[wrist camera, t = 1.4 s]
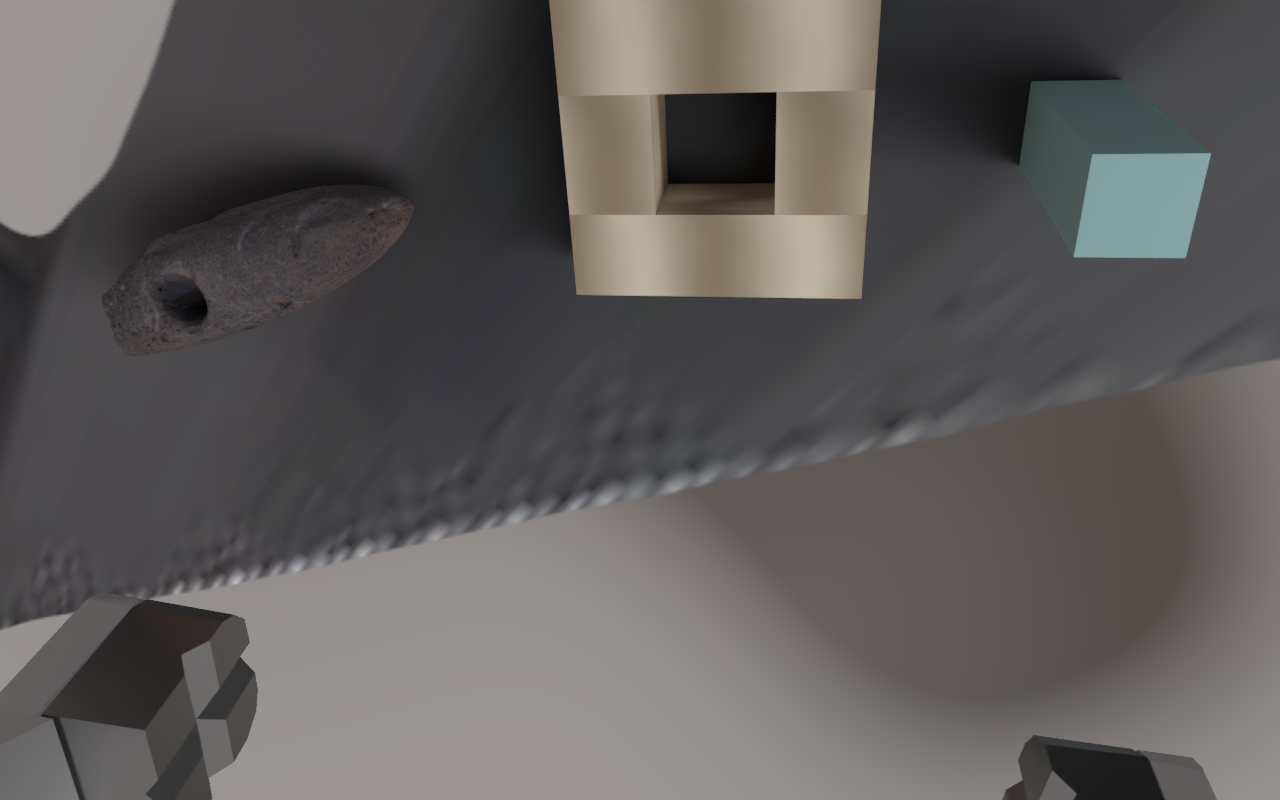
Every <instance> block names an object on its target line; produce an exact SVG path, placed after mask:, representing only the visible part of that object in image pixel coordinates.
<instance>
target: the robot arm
mask: <svg viewBox="0 0 1280 800" xmlns="http://www.w3.org/2000/svg"><path fill="white" fill-rule="evenodd" d="M249 643H250V642H249V637H248V632H247V628H246V624H245V619H243V618H241V617H238V616H236V615H232V614H226V613H221V612H215V611H209V610H204V609H198V608H193V607H186V606H182V605H176V604H170V603H164V602H159V601H154V600H148V599H147V600H144V599H138V598H132V597H127V596H121V595H115V594H109V593H104V592H102V593H100V594H98V595H96V596H93V597H91V598H89V599H87V600H86V601H85V602H84V603H83V604H82V605H81V606H80V607H79V608H78V609H77V610H76V611H75V613H74V614H73V615H72V616H71V617H70V618H69V619H68V620H67V621H66V622H65V623H64V624H63V625H62V627H61V628H60V629H59V630H58V631H57V632H56V633H55V634H54V635H53V636H52V637H51V638H50V640H49V641H48V642H47V643H46V644H45V645H44V646H43V647H42V648H41V649H40V651H38V653H37V654H36V655H35V656H34V657H33V658H32V659H31V660H30V661H29V662H28V663H27V664H26V666H25V667H24V668H23V669H22V670H21V671H20V672H19V673H18V674H17V675H16V676H15V677H14V678H13V679H12V681H11V682H10V683H9V684H8V685H7V686H6V687H5V688H4V689H3V690H2V691H1V692H0V800H212V794H211V789H210V782H209V777H211V776H212V775H214V774H215V773H217V772H219V771H220V770H222V769H224V768H225V767H227V766H228V765H230V764H232V763H233V762H234V761H235V759H236V757H237V756H238V754H239V752H240V751H241V749H242V747H243V745H244V744H245V742H246V740H247V738H248V735H249V732H250V729H251V726H252V722H253V719H254V716H255V713H256V707H257V692H258V689H257V682H256V676H255V672H254V671H253V670H252V669H251V668H250V667H249V666H248V665H247V664H246V663H245V662H244V661H243V660H242V659H241V657H240V656H241V655H242V653H243V652H244V650H245V649H246V647H247V646H248V644H249ZM1018 762H1019V766H1020V771H1021V775H1022V779H1023V780H1022V781H1020V782H1019V783H1017V784H1015V785H1013V786H1012V787H1010V788H1008V789H1007V790H1006V791H1005V794H1004V796H1003V799H1002V800H1217V799H1216V797H1215V794H1214V792H1213V790H1212V788H1211V786H1210V784H1209V782H1208V779H1207V777H1206V775H1205V773H1204V771H1203V768H1202V767H1201V766H1200V765H1199V764H1198V763H1197V762H1196V761H1195V760H1194V759H1193V758H1190V757H1183V756H1176V755H1169V754H1162V753H1155V752H1148V751H1141V750H1138V751H1135V750H1133V749H1129V748H1122V747H1115V746H1108V745H1101V744H1093V743H1086V742H1079V741H1072V740H1065V739H1058V738H1051V737H1044V736H1037V735H1034V736H1033V737H1031V738H1030V739H1029V740H1028V741H1027V742H1026V743H1025V745H1024V747H1023V750H1022V752H1021V754H1020V757H1019V759H1018Z"/></svg>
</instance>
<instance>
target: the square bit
mask: <svg viewBox="0 0 1280 800" xmlns="http://www.w3.org/2000/svg"><path fill="white" fill-rule="evenodd" d="M1210 156H1211V153H1210V152H1209V151H1208V150H1207V149H1205V148H1204V147H1203V146H1202V145H1201V144H1199V143H1198V142H1197V141H1196V140H1195V139H1193V138H1192V137H1191V136H1190V135H1189V134H1187V133H1186V132H1185V131H1184V130H1183V129H1181V128H1180V127H1179V126H1178V125H1177V124H1175V123H1174V122H1173V121H1172V120H1171V119H1169V118H1168V117H1167V116H1166V115H1165V114H1163V113H1162V112H1161V111H1160V110H1159V109H1157V108H1156V107H1155V106H1154V105H1153V104H1151V103H1150V102H1149V101H1148V100H1146V99H1145V98H1144V97H1143V96H1142V95H1140V94H1139V93H1138V92H1137V91H1136V90H1134V89H1133V88H1132V87H1131V86H1130V85H1128V84H1127V83H1126V82H1125V81H1124V80H1078V81H1031V87H1030V94H1029V101H1028V108H1027V115H1026V121H1025V128H1024V135H1023V142H1022V149H1021V156H1020V163H1019V166H1020V168H1021V170H1022V171H1023V173H1024V175H1025V176H1026V178H1027V180H1028V181H1029V183H1030V185H1031V187H1032V188H1033V190H1034V192H1035V193H1036V195H1037V197H1038V198H1039V200H1040V202H1041V203H1042V205H1043V207H1044V208H1045V210H1046V212H1047V213H1048V215H1049V217H1050V218H1051V220H1052V222H1053V223H1054V225H1055V227H1056V228H1057V230H1058V232H1059V233H1060V235H1061V237H1062V239H1063V240H1064V242H1065V244H1066V245H1067V247H1068V249H1069V250H1070V252H1071V254H1072V255H1073V257H1114V258H1186V254H1187V250H1188V246H1189V242H1190V238H1191V234H1192V230H1193V225H1194V221H1195V217H1196V213H1197V209H1198V205H1199V201H1200V197H1201V193H1202V189H1203V185H1204V180H1205V176H1206V172H1207V168H1208V164H1209V160H1210Z"/></svg>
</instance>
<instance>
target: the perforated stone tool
mask: <svg viewBox="0 0 1280 800" xmlns="http://www.w3.org/2000/svg"><path fill="white" fill-rule="evenodd" d="M413 209H414V206H413V204H412V203H411V201H410V200H409V198H407V197H406V196H404V195H403V194H401V193H399V192H397V191H394V190H392V189H388V188H383V187H378V186H371V185H356V184H351V185H350V184H339V185H326V186H318V187H312V188H307V189H301V190H297V191H293V192H288V193H284V194H280V195H276V196H273V197H269V198H265V199H262V200H258V201H255V202H251V203H248V204H245V205H242V206H239V207H236V208H232V209H229V210H226V211H224V212H223V213H221V214H219V215H216V216H215V217H213V218H212V219H211V220H209V221H205V222H202V223H197V224H193V225H190V226H187V227H185V228H182V229H178V230H175V231H172V232H169V233H167V234H165V235H162V236H159V237H157V238H155V239H154V240H153V241H152V242H151V243H150V244H148V245H147V247H146V249H145V251H144V253H143V255H141V256H140V257H139V259H138V261H137V262H135V263H133V264H131V265H130V266H129V267H128V268H127V269H126V270H125V271H124V272H123V273H122V274H121V275H120V276H119V277H118V279H117V281H116V282H115V284H114V285H113V286H112V287H111V288H110V290H109V291H108V292H106V293H105V294H104V295H103V297H102V303H103V307H104V309H105V312H106V314H107V317H108V318H109V320H110V321H111V324H110V325H111V327H112V331H113V332H114V333H115V335H114V339H115V341H116V342H117V343H118V345H119V346H120V347H122V349H123V350H124V351H125V353H126V354H127V355H134V356H143V355H149V354H156V353H162V352H168V351H173V350H179V349H183V348H187V347H192V346H196V345H200V344H204V343H207V342H211V341H214V340H218V339H222V338H225V337H228V336H231V335H234V334H237V333H240V332H243V331H246V330H249V329H252V328H255V327H258V326H261V325H263V324H266V323H268V322H271V321H273V320H276V319H279V318H281V317H283V316H285V315H287V314H290V313H292V312H294V311H296V310H299V309H301V308H303V307H305V306H307V305H309V304H310V303H312V302H314V301H316V300H318V299H320V298H322V297H324V296H325V295H327V294H329V293H330V292H332V291H333V290H335V289H337V288H338V287H340V286H341V285H343V284H344V283H346V282H347V281H349V280H350V279H352V278H353V277H354V276H355V275H357V274H358V273H360V272H362V271H364V270H365V269H366V268H368V267H369V266H370V265H372V264H373V263H374V262H376V261H377V260H378V259H379V258H380V257H382V256H383V254H384V253H386V252H387V250H388V249H389V248H390V247H391V246H392V245H393V244H394V243H395V242H396V241H397V240H398V239H399V237H400V236H401V235H402V233H403V232H404V230H405V228H406V227H407V225H408V223H409V221H410V219H411V216H412V214H413Z"/></svg>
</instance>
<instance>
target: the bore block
mask: <svg viewBox="0 0 1280 800" xmlns="http://www.w3.org/2000/svg"><path fill="white" fill-rule="evenodd" d="M549 4H550V15H551V25H552V36H553V46H554V57H555V68H556V78H557V89H558V99H559V110H560V121H561V131H562V142H563V152H564V163H565V174H566V184H567V195H568V205H569V216H570V227H571V237H572V248H573V258H574V269H575V280H576V290H577V295H628V296H698V297H769V298H839V299H861V296H862V281H863V266H864V251H865V236H866V221H867V206H868V191H869V176H870V161H871V146H872V131H873V116H874V101H875V86H876V71H877V56H878V41H879V26H880V11H881V0H549ZM756 92H777V99H776V159H775V183H756V184H668V166H667V141H666V117H665V94H704V93H756Z"/></svg>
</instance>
